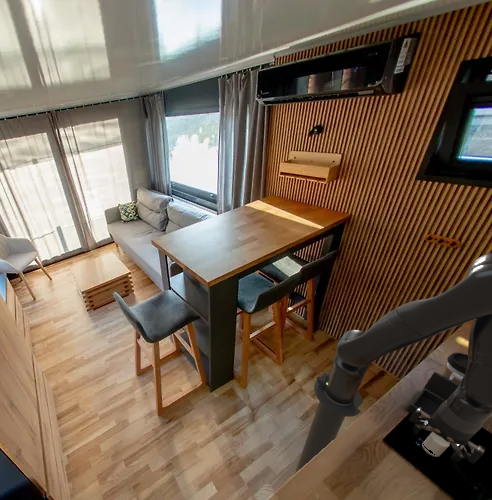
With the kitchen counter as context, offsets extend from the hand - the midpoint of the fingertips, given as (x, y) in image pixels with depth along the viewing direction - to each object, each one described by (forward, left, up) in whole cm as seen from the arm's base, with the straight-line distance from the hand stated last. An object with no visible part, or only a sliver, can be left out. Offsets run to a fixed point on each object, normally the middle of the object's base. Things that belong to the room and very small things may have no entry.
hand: (434, 444), depth 80 cm
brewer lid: (-3, +17, +7) cm, 19 cm away
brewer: (-3, +14, -3) cm, 14 cm away
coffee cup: (-4, +30, -3) cm, 30 cm away
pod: (0, 0, -3) cm, 3 cm away
